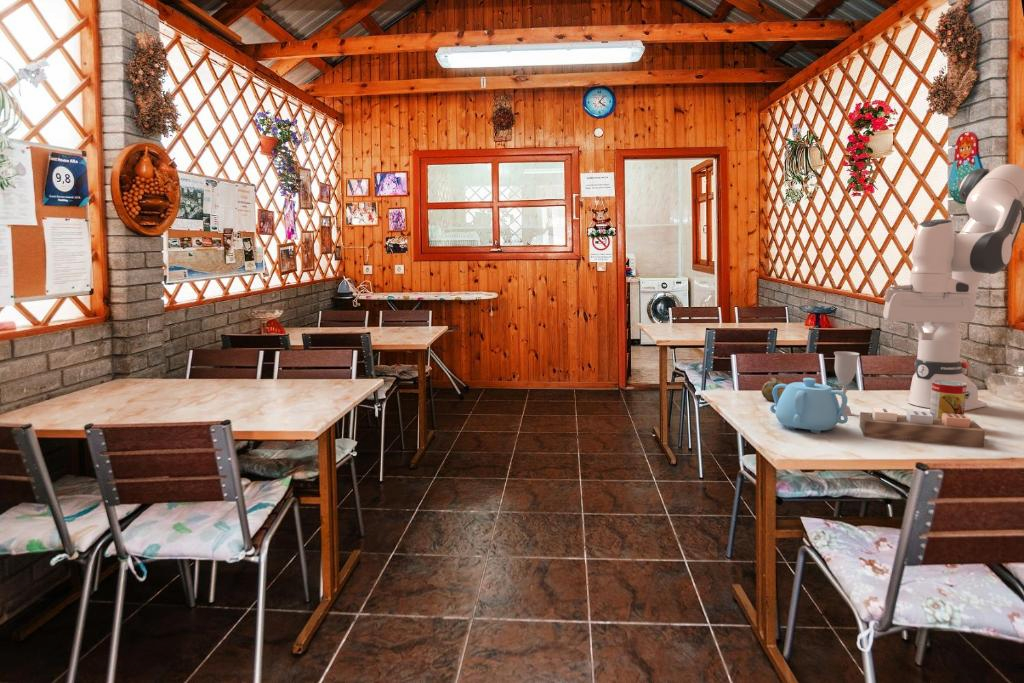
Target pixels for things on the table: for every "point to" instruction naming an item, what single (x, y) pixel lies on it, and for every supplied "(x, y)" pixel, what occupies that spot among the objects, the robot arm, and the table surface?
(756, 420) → the table surface
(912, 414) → the tile two
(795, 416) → the decorative pot
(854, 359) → the chalice
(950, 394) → the canned food
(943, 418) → the tile three
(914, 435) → the button board
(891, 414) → the tile one
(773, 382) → the onion
